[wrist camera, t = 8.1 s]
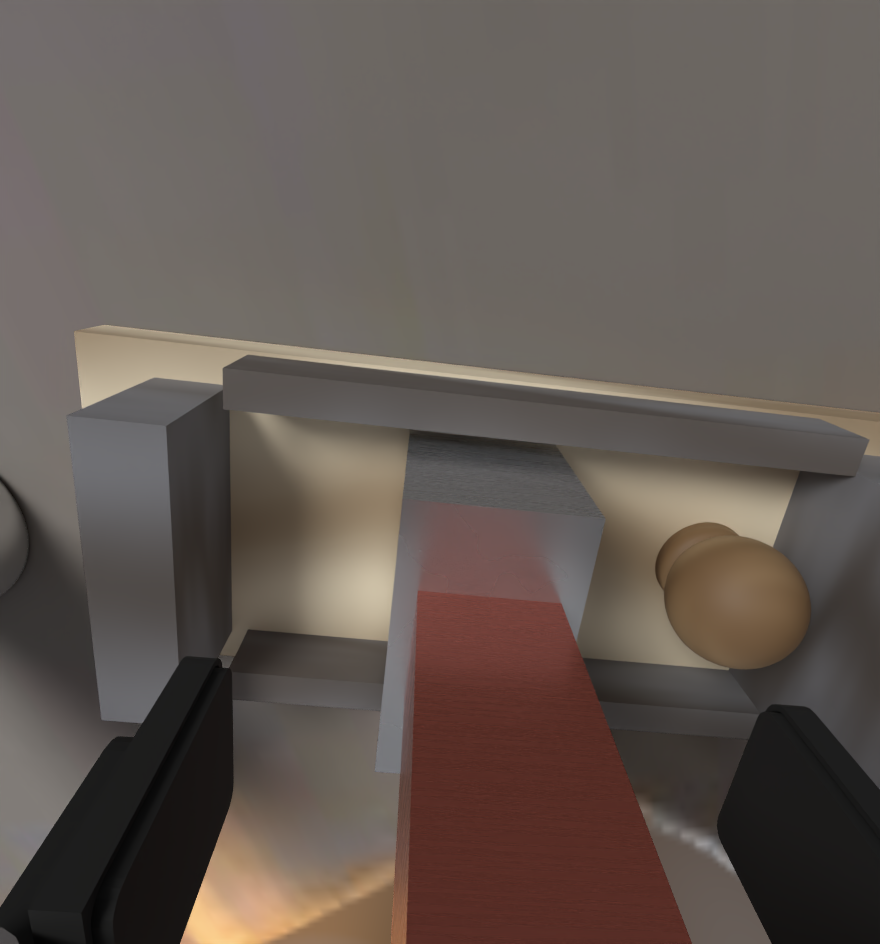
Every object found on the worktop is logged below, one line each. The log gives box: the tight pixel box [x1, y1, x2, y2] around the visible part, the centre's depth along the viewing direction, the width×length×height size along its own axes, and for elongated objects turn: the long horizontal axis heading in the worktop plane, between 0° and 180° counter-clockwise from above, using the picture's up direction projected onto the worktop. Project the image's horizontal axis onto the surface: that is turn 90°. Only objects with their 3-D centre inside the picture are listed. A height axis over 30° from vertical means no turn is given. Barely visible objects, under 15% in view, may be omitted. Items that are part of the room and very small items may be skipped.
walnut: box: [655, 522, 811, 670], centre depth 16 cm, size 4×4×4 cm
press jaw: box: [375, 429, 692, 944], centre depth 11 cm, size 7×4×13 cm, turn 173°
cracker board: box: [67, 325, 880, 789], centre depth 15 cm, size 10×26×8 cm, turn 83°
